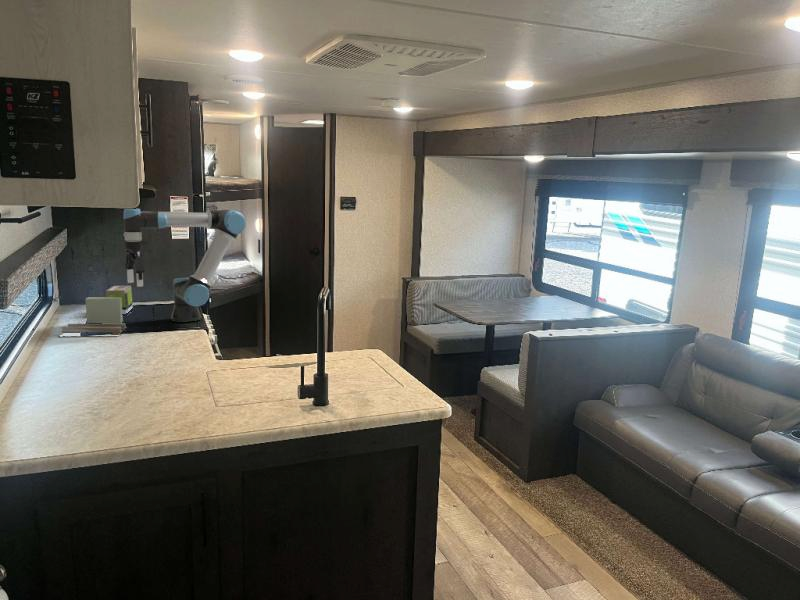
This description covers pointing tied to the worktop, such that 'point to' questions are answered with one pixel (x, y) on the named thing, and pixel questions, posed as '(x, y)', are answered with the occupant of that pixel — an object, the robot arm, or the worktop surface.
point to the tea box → (124, 293)
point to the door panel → (104, 309)
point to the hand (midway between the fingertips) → (135, 284)
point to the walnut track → (95, 328)
